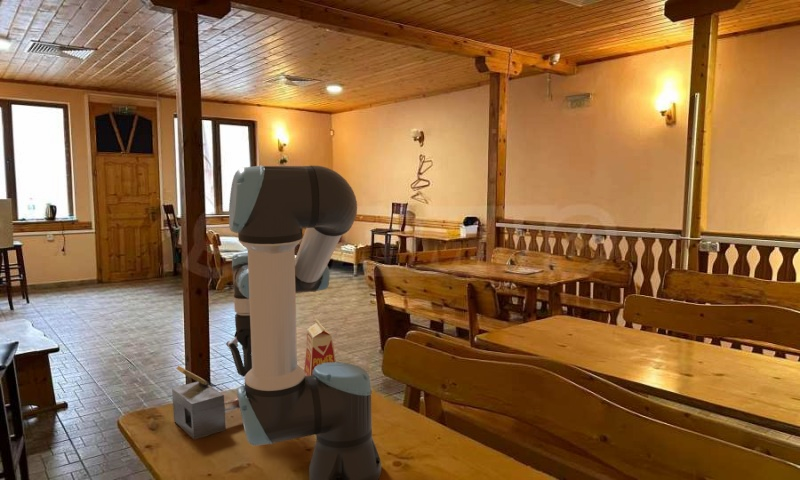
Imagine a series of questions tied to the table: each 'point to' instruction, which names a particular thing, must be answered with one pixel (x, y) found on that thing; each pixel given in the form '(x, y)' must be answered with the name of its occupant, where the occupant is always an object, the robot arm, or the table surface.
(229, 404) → the pin
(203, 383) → the tan rectangular plate
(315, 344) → the milk carton
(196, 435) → the block
